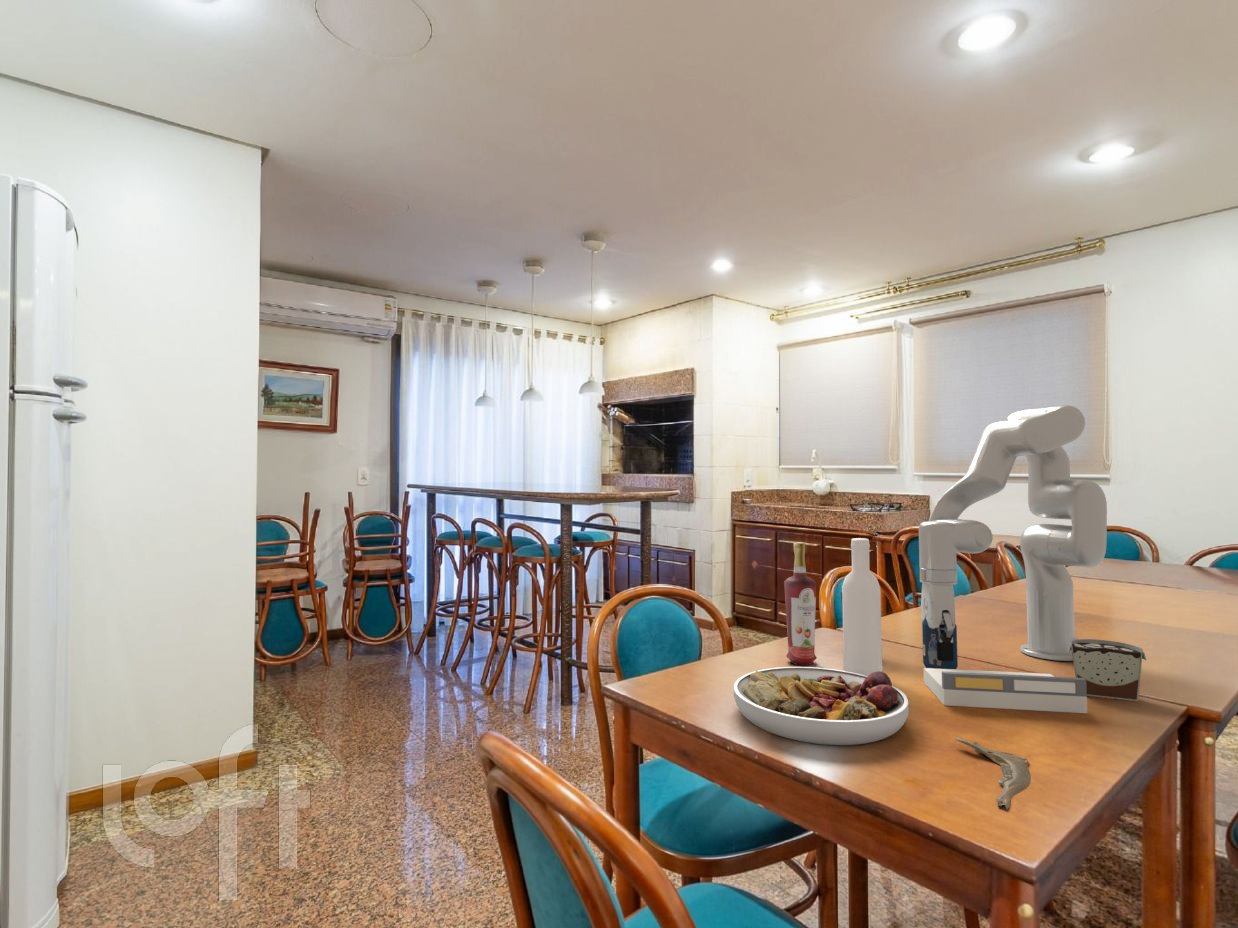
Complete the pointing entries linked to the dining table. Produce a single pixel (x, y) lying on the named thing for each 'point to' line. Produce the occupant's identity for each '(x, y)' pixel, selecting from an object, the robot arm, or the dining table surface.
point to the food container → (1108, 667)
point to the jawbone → (1006, 771)
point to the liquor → (800, 611)
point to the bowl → (822, 704)
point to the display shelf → (1007, 690)
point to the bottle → (861, 614)
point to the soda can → (931, 648)
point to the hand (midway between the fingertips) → (939, 655)
